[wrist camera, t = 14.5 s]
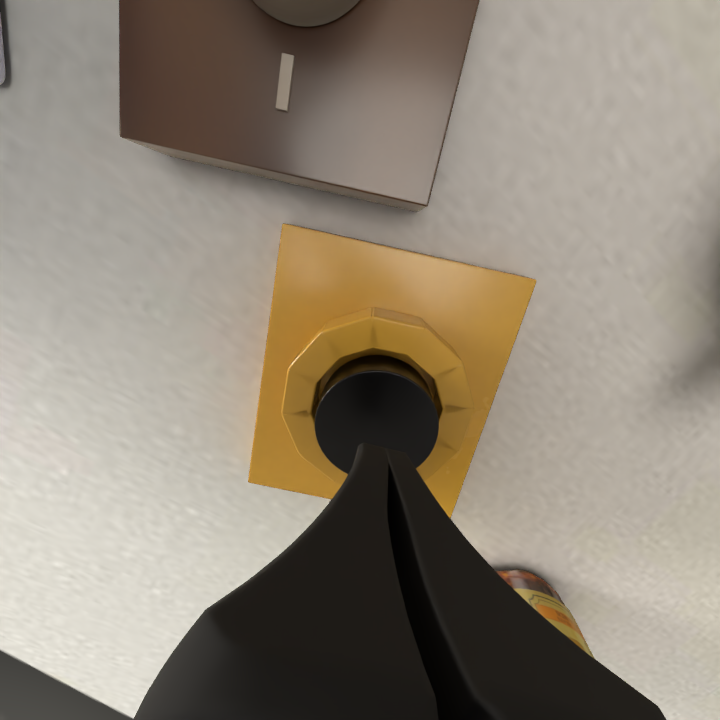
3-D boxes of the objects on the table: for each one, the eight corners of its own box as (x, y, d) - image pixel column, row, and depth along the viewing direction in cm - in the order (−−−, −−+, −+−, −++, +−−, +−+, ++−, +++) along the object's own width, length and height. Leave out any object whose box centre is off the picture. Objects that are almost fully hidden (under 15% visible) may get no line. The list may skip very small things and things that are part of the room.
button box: (255, 467, 19) (233, 508, 16) (289, 224, 15) (268, 221, 12) (444, 506, 19) (456, 553, 16) (525, 276, 15) (559, 286, 12)
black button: (312, 443, 15) (305, 468, 14) (332, 343, 14) (326, 358, 12) (415, 464, 15) (420, 491, 14) (445, 367, 14) (454, 385, 12)
